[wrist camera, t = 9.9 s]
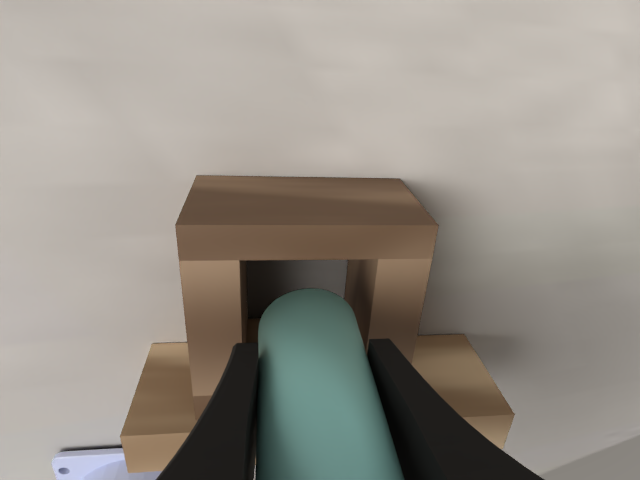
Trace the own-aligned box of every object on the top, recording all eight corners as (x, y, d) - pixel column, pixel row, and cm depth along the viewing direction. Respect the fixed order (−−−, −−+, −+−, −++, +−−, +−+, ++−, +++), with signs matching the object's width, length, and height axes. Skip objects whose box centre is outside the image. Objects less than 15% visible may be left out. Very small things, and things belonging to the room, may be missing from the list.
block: (377, 335, 21) (403, 409, 17) (208, 340, 20) (195, 419, 16) (399, 178, 18) (438, 225, 14) (196, 175, 17) (175, 225, 13)
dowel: (352, 365, 15) (412, 606, 9) (258, 368, 15) (255, 624, 9) (360, 287, 14) (440, 510, 8) (257, 289, 13) (252, 526, 7)
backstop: (456, 364, 23) (502, 448, 18) (157, 376, 21) (128, 473, 16) (464, 334, 22) (514, 414, 17) (151, 343, 20) (119, 436, 16)
